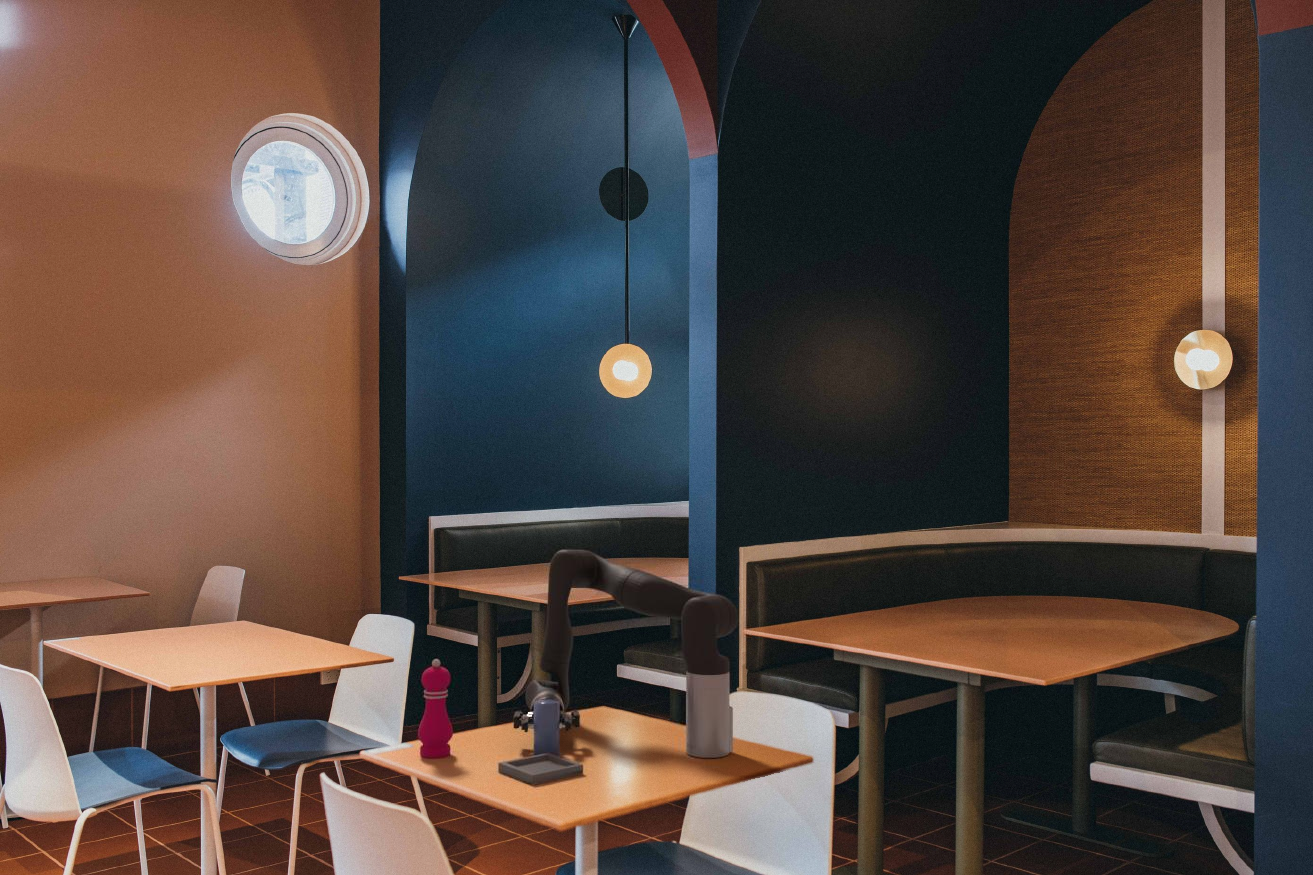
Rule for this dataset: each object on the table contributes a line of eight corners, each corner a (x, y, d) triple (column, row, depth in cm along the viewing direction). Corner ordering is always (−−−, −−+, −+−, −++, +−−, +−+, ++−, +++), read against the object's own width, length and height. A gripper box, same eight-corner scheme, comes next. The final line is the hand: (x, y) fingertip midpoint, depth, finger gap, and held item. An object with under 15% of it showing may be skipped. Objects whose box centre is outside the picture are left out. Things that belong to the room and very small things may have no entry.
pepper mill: (459, 752, 229) (460, 657, 230) (438, 760, 223) (440, 662, 224) (431, 748, 232) (432, 655, 233) (410, 756, 226) (411, 660, 227)
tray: (548, 761, 222) (548, 752, 222) (583, 773, 213) (583, 764, 213) (498, 771, 214) (498, 762, 214) (532, 784, 205) (532, 775, 205)
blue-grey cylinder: (549, 749, 232) (549, 698, 232) (564, 754, 228) (564, 702, 228) (528, 754, 228) (528, 701, 229) (543, 759, 224) (543, 705, 224)
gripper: (515, 694, 243) (512, 709, 227) (578, 693, 244) (580, 708, 228) (515, 727, 242) (512, 745, 226) (578, 726, 244) (580, 744, 228)
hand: (546, 726), depth 227 cm, fingers open, 8 cm apart
